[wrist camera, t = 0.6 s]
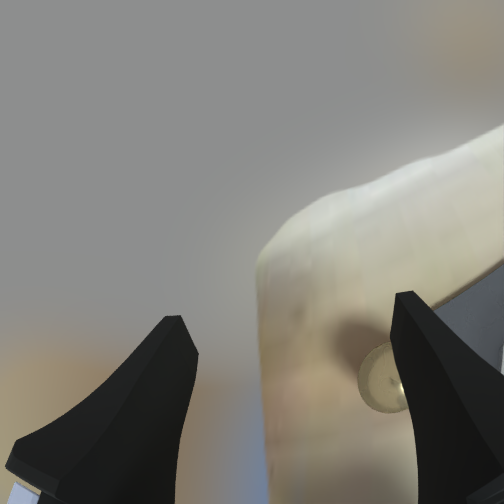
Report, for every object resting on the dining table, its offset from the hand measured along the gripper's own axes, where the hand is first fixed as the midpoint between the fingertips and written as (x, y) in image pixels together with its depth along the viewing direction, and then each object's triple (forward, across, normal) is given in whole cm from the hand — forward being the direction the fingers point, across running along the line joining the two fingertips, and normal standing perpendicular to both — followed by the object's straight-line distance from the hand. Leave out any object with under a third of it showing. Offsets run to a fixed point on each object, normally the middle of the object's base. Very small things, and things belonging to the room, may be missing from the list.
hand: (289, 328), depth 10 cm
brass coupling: (+6, -8, +14) cm, 18 cm away
